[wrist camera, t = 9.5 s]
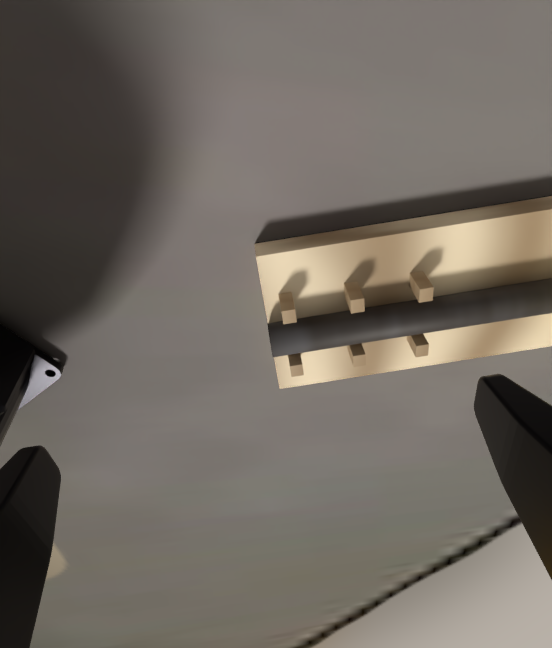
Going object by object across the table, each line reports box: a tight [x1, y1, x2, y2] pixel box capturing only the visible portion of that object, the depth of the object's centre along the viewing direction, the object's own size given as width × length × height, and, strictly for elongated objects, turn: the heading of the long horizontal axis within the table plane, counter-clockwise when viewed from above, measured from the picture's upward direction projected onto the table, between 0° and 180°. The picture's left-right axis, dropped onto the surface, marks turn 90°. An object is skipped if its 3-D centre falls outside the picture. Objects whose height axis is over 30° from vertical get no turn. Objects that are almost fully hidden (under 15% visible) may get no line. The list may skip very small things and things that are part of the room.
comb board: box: [255, 196, 552, 389], centre depth 22 cm, size 22×8×4 cm, turn 98°
